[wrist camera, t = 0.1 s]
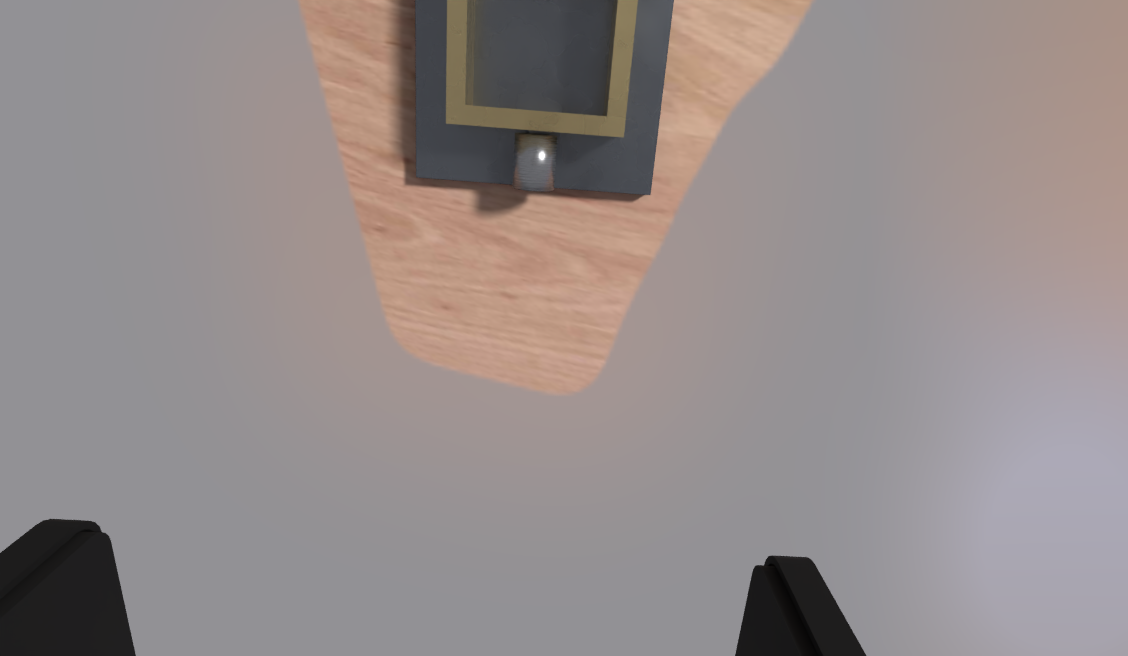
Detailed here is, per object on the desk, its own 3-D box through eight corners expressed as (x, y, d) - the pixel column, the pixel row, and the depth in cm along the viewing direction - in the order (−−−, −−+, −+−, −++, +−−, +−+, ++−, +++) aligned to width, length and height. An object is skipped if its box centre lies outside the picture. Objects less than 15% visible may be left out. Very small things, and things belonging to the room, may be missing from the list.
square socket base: (418, -138, 32) (399, -172, 28) (684, -114, 32) (701, -144, 29) (419, 175, 37) (403, 182, 33) (648, 192, 38) (657, 201, 34)
